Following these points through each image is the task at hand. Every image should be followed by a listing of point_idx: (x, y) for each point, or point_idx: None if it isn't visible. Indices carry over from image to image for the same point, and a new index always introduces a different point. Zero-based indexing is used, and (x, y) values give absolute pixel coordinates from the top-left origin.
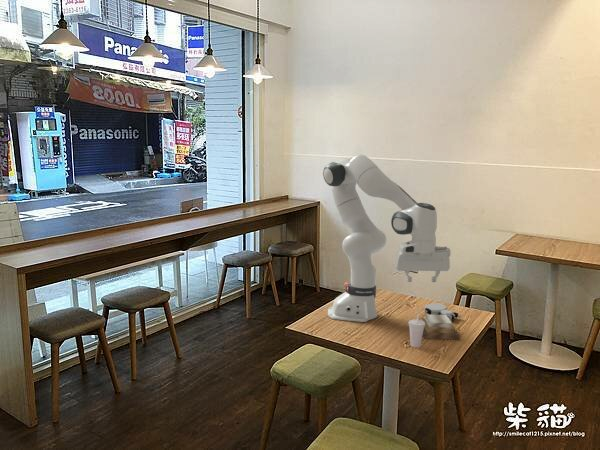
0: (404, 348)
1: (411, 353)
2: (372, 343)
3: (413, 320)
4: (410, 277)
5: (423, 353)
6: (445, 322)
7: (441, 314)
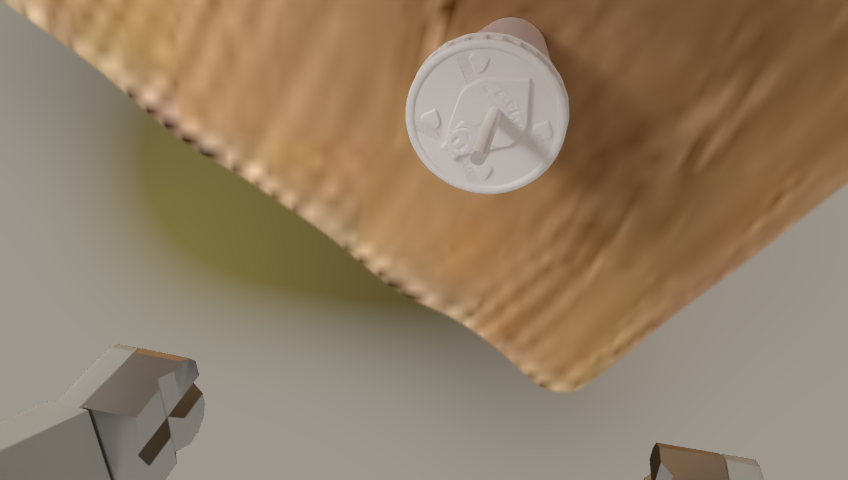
0: None
1: None
2: (205, 7)
3: (463, 73)
4: (128, 472)
5: None
6: None
7: None
